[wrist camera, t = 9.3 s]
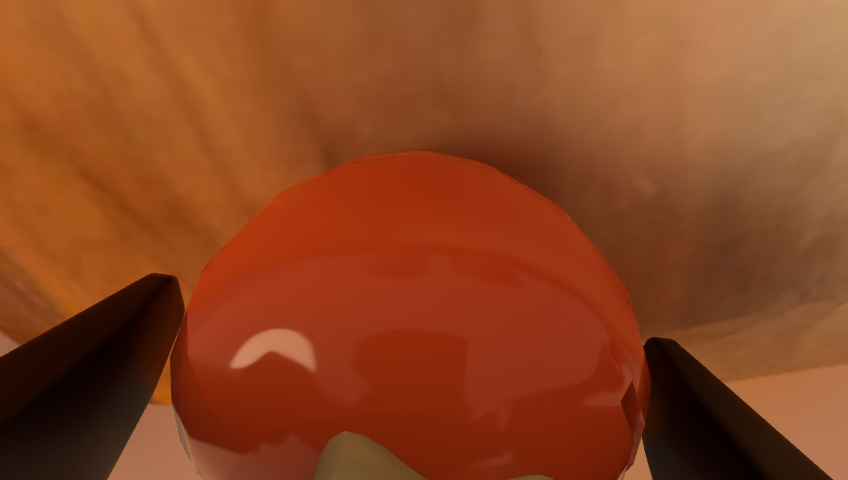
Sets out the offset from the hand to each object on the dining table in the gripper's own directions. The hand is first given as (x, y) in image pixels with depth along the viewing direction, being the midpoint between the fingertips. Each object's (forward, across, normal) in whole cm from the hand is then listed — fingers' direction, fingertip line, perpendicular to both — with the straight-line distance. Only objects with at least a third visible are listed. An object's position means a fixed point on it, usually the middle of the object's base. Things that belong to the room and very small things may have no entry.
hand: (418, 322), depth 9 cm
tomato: (+3, 0, 0) cm, 3 cm away
